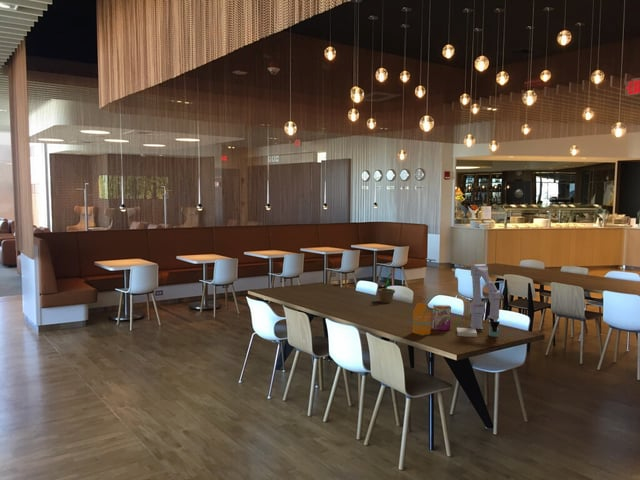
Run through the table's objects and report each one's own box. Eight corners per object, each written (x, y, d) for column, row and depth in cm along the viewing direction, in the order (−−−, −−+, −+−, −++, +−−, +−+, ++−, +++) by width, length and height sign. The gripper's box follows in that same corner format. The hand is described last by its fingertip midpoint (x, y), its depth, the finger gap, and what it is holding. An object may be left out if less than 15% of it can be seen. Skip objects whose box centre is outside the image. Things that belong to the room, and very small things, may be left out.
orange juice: (422, 335, 337) (423, 305, 335) (412, 332, 344) (413, 302, 342) (430, 333, 341) (431, 303, 340) (420, 331, 348) (421, 301, 347)
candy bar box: (433, 330, 351) (434, 306, 350) (432, 328, 356) (432, 304, 355) (450, 330, 351) (451, 306, 350) (448, 328, 356) (449, 304, 355)
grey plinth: (456, 331, 350) (456, 327, 349) (475, 333, 347) (475, 328, 347) (457, 336, 338) (457, 331, 338) (476, 337, 335) (477, 333, 335)
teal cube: (489, 334, 343) (489, 326, 343) (496, 334, 342) (497, 327, 342) (489, 336, 338) (490, 328, 338) (497, 336, 337) (498, 329, 337)
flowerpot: (394, 303, 439) (395, 268, 437) (377, 303, 441) (378, 267, 439) (394, 300, 453) (395, 266, 451) (377, 299, 455) (378, 265, 453)
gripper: (486, 307, 347) (486, 327, 348) (489, 311, 332) (488, 332, 333) (498, 307, 345) (497, 328, 346) (501, 312, 331) (500, 333, 332)
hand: (493, 330), depth 340 cm, fingers open, 7 cm apart
